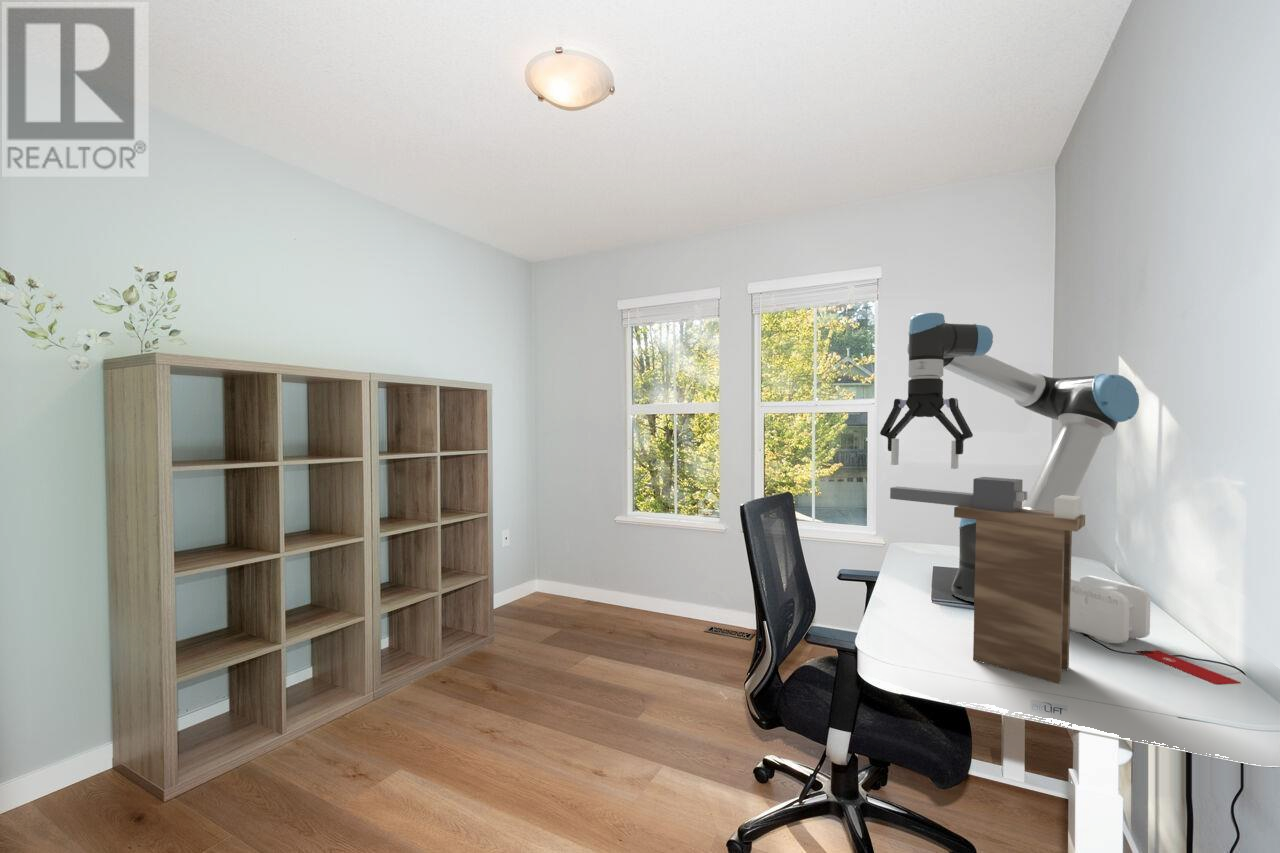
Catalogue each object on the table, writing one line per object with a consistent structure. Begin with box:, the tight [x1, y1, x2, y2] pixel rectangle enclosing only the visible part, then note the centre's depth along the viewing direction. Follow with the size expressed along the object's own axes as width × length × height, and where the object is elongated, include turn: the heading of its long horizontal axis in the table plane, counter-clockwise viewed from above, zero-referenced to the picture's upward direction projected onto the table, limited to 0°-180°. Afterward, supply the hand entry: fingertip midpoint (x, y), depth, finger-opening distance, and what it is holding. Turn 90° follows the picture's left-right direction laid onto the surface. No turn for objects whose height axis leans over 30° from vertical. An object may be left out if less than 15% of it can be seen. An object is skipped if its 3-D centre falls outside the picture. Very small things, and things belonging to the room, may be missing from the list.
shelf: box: [953, 506, 1086, 684], centre depth 113 cm, size 10×20×30 cm, turn 45°
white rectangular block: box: [1054, 495, 1083, 519], centre depth 107 cm, size 8×3×4 cm, turn 135°
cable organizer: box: [1070, 575, 1152, 644], centre depth 129 cm, size 15×11×12 cm
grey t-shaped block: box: [889, 476, 1029, 513], centre depth 120 cm, size 7×25×6 cm, turn 45°
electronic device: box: [1135, 650, 1242, 685], centre depth 112 cm, size 6×1×15 cm
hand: (923, 466), depth 137 cm, fingers open, 13 cm apart
